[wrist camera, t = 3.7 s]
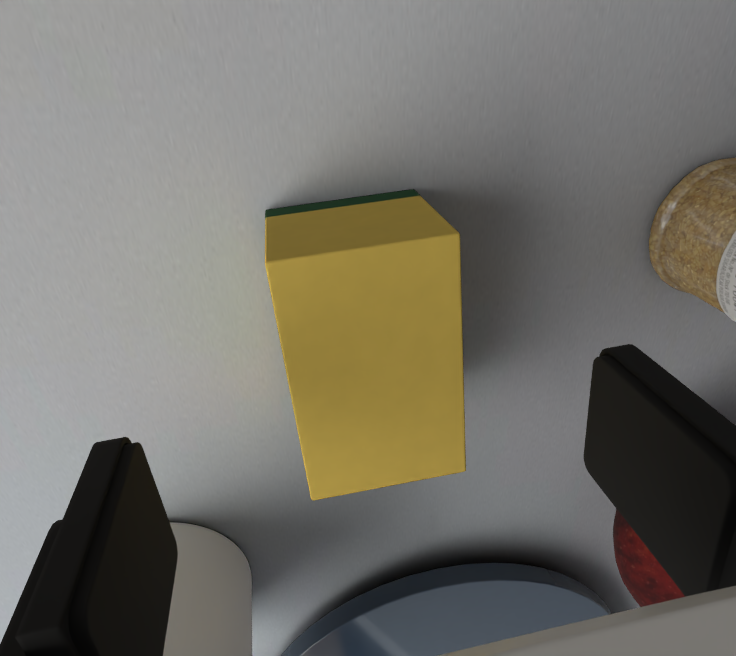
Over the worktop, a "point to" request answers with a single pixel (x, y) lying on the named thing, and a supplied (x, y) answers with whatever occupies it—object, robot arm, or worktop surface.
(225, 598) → the mug
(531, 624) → the plate
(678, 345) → the worktop surface
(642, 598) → the apple
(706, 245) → the sprinkles bottle
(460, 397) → the sponge
